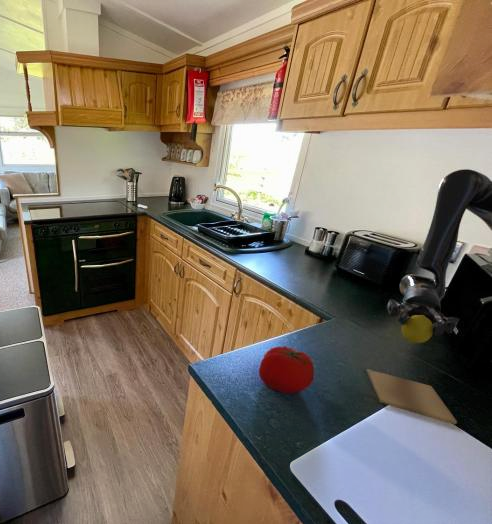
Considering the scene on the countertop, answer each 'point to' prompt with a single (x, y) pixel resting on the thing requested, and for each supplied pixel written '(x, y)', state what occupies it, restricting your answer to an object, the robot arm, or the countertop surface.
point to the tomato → (286, 370)
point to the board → (409, 396)
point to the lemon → (417, 329)
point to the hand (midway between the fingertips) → (420, 326)
